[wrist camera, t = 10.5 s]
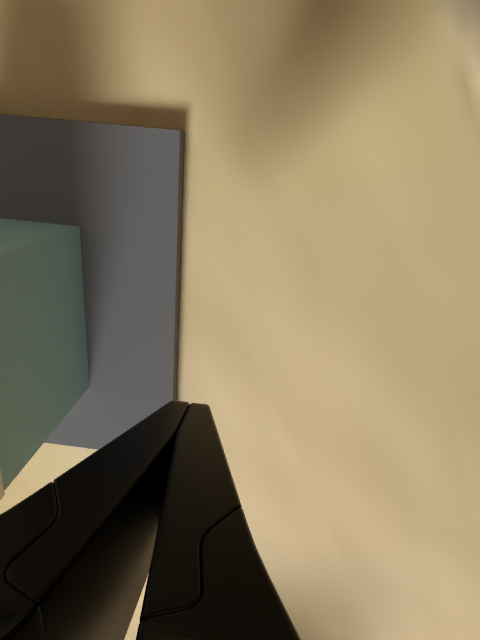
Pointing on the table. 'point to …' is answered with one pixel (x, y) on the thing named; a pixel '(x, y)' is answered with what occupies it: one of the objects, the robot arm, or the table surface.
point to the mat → (108, 254)
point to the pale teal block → (38, 336)
